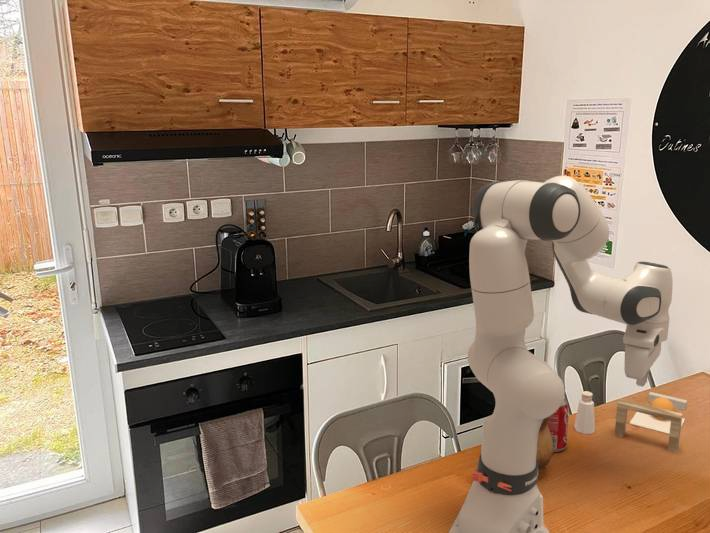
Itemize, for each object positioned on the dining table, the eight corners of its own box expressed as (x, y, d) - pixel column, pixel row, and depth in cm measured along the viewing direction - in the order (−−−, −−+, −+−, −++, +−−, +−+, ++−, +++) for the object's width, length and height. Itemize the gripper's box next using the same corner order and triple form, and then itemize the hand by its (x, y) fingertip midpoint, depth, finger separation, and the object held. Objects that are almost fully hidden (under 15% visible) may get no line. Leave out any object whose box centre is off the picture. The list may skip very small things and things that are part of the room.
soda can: (568, 454, 150) (571, 407, 147) (539, 451, 151) (541, 405, 148) (564, 440, 156) (567, 395, 154) (536, 438, 158) (539, 393, 155)
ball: (675, 412, 169) (671, 425, 165) (653, 407, 172) (648, 420, 168) (676, 396, 166) (671, 408, 162) (653, 391, 170) (648, 403, 166)
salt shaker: (594, 436, 158) (597, 398, 156) (573, 432, 161) (575, 395, 158) (595, 427, 163) (598, 390, 161) (574, 423, 166) (577, 387, 163)
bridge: (676, 453, 150) (680, 418, 147) (614, 435, 159) (617, 402, 156) (678, 448, 152) (682, 413, 150) (617, 431, 161) (620, 398, 159)
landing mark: (676, 436, 158) (677, 435, 158) (629, 423, 165) (629, 422, 165) (685, 419, 167) (685, 418, 167) (639, 408, 174) (639, 407, 174)
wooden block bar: (685, 410, 172) (685, 402, 172) (648, 401, 178) (648, 394, 178) (686, 408, 174) (687, 400, 173) (649, 399, 180) (650, 391, 179)
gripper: (643, 316, 147) (638, 367, 150) (621, 338, 132) (616, 395, 135) (670, 320, 144) (665, 373, 147) (651, 344, 128) (645, 402, 131)
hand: (641, 384), depth 141 cm, fingers closed
